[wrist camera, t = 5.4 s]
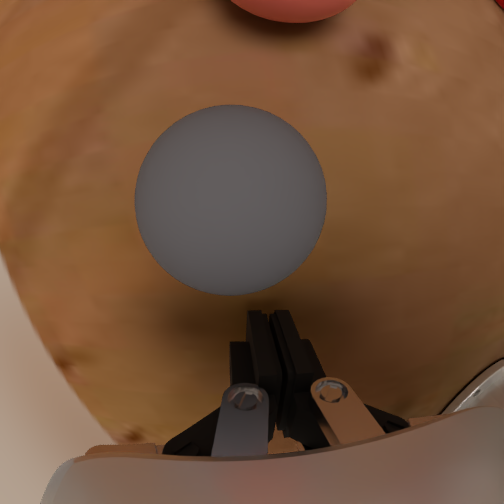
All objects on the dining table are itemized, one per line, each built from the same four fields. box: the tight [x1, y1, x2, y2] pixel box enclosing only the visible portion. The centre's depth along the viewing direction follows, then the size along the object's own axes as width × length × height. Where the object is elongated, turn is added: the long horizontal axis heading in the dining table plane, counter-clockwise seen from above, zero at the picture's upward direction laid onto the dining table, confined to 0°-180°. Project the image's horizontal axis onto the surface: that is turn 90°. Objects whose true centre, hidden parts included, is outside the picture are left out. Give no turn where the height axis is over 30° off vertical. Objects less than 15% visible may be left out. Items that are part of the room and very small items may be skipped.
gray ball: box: [135, 105, 327, 296], centre depth 9 cm, size 6×6×6 cm
